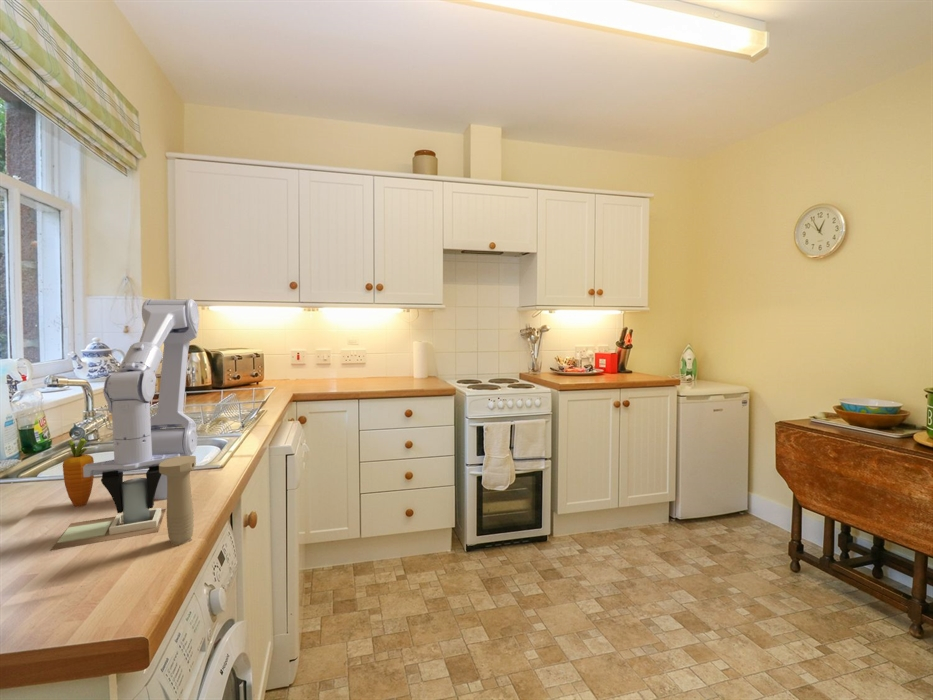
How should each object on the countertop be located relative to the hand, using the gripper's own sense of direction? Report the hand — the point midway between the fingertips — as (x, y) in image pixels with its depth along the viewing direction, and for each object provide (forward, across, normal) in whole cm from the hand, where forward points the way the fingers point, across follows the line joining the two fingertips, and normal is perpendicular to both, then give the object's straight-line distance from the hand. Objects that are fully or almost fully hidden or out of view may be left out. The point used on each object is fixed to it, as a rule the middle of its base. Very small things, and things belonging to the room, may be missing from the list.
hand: (136, 508), depth 88 cm
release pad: (+3, -7, 0) cm, 8 cm away
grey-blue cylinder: (+3, 0, 0) cm, 3 cm away
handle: (+4, +8, -12) cm, 15 cm away
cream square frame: (+3, 0, 0) cm, 3 cm away
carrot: (+4, -12, +17) cm, 21 cm away
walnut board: (+4, -4, 0) cm, 5 cm away
